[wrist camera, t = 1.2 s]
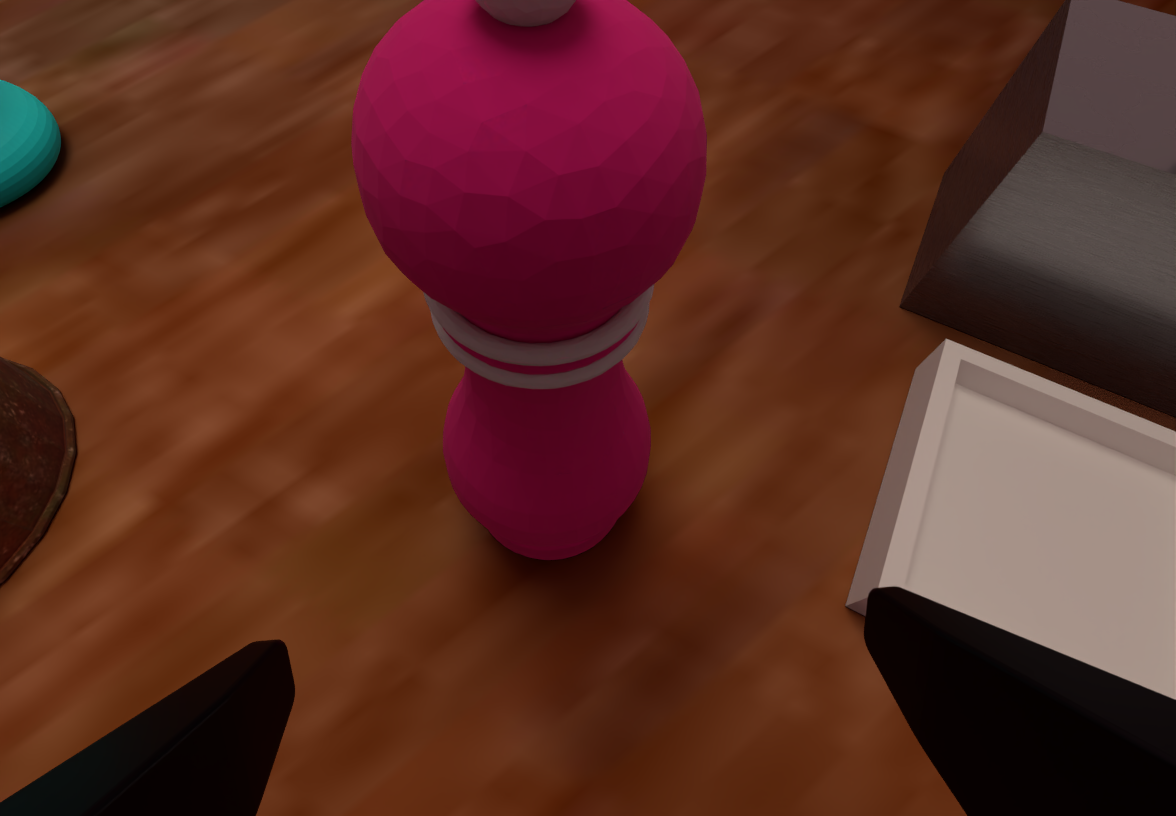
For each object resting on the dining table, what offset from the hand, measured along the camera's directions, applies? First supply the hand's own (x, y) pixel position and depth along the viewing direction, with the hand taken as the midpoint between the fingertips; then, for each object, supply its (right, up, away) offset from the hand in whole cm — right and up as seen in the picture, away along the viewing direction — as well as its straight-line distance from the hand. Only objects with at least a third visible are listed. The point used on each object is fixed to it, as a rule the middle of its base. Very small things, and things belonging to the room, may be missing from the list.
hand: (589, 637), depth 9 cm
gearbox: (+26, +10, +22) cm, 35 cm away
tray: (+18, -2, +15) cm, 24 cm away
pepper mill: (-2, 0, +15) cm, 16 cm away
